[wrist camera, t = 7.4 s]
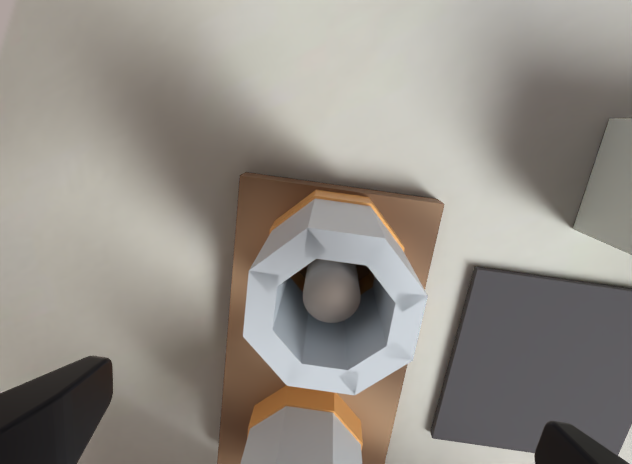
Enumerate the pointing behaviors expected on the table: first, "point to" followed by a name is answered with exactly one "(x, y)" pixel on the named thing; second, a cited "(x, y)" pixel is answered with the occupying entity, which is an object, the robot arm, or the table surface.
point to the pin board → (252, 365)
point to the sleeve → (346, 336)
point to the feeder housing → (610, 189)
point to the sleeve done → (303, 429)
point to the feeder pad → (538, 362)
